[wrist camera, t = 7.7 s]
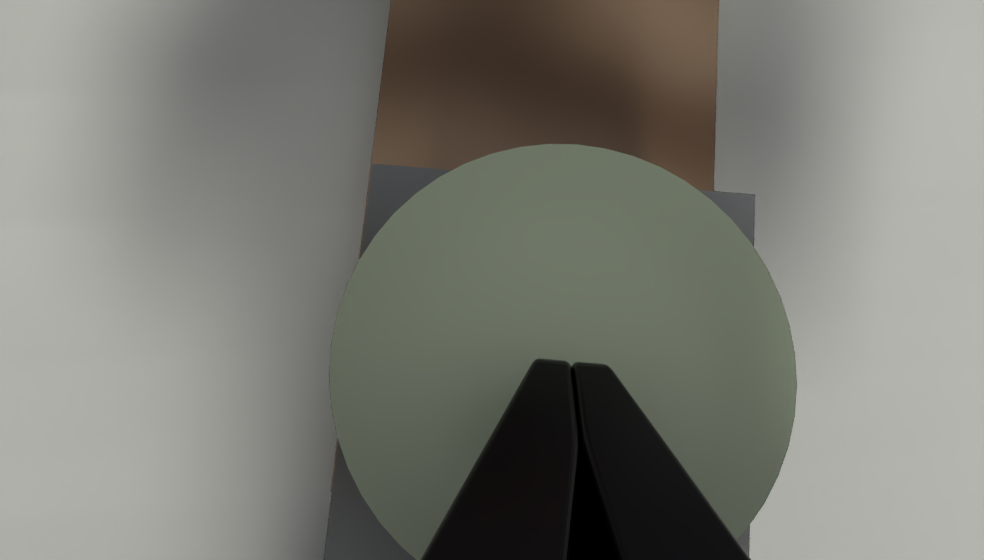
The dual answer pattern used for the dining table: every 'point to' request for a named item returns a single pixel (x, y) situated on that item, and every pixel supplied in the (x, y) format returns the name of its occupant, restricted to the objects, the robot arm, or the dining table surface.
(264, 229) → the dining table surface
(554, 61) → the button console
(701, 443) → the sage button
